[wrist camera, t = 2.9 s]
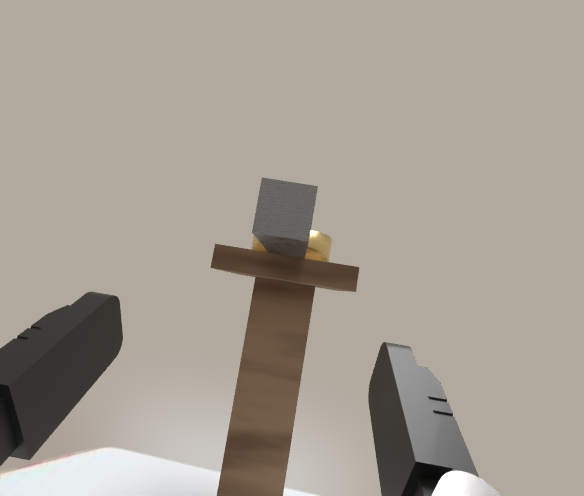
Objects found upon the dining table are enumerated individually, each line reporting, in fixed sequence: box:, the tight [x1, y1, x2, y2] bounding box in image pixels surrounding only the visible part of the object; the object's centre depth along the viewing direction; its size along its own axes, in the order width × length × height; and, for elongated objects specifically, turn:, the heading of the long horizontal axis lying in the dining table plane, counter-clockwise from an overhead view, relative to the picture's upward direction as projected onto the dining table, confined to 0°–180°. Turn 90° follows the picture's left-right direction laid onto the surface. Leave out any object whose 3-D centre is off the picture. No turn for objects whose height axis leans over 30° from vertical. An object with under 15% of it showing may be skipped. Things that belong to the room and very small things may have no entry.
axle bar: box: [251, 178, 332, 262], centre depth 28 cm, size 21×8×3 cm, turn 179°
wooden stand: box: [211, 244, 359, 496], centre depth 33 cm, size 14×12×32 cm
